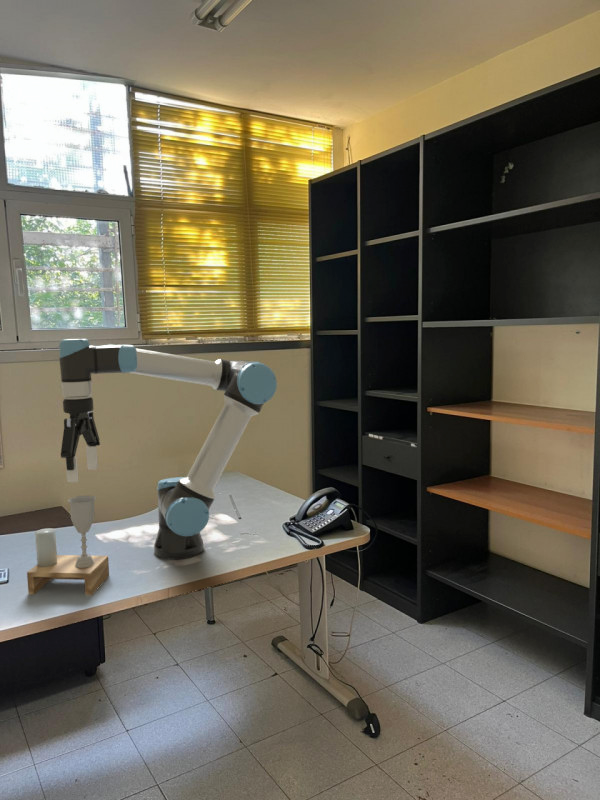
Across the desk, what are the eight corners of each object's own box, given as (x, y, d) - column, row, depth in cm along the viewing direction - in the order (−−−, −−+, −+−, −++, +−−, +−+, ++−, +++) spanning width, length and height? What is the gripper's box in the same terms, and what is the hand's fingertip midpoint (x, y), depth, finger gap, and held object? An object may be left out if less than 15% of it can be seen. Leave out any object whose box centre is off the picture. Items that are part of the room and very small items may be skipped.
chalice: (85, 570, 155) (82, 503, 153) (64, 567, 157) (62, 501, 155) (104, 561, 161) (101, 496, 159) (84, 557, 164) (81, 494, 162)
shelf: (109, 576, 166) (108, 555, 165) (91, 595, 154) (90, 573, 153) (50, 575, 167) (49, 554, 166) (28, 594, 155) (26, 572, 154)
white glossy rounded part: (60, 559, 162) (58, 528, 161) (51, 567, 157) (49, 534, 156) (43, 559, 163) (41, 528, 162) (33, 567, 158) (31, 534, 157)
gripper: (82, 392, 169) (87, 464, 172) (42, 403, 144) (48, 488, 147) (108, 391, 169) (112, 464, 172) (72, 403, 144) (78, 487, 147)
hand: (83, 475), depth 159 cm, fingers open, 13 cm apart
